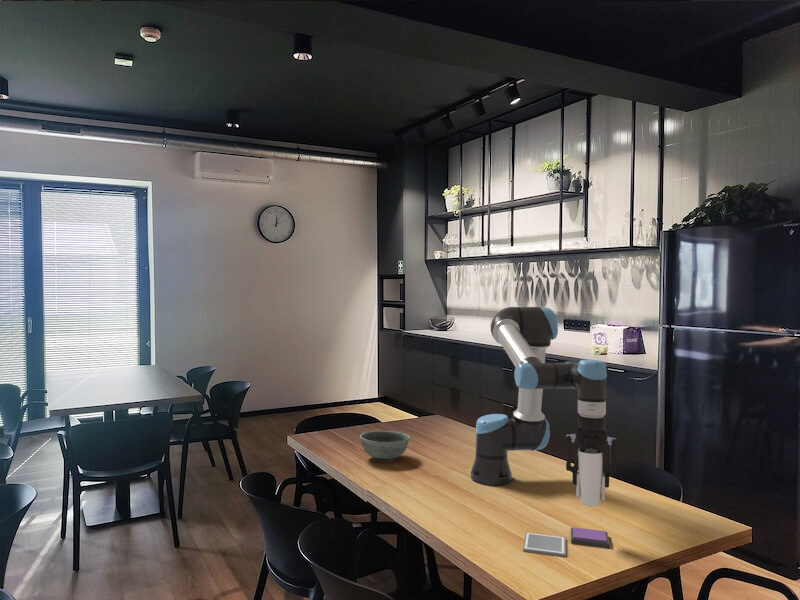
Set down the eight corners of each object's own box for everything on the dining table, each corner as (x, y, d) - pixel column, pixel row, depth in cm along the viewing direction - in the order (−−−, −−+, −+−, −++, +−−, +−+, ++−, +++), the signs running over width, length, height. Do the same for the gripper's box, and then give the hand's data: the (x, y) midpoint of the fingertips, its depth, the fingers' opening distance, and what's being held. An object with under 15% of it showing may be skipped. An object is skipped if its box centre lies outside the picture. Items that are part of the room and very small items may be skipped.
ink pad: (571, 543, 159) (571, 537, 159) (570, 531, 166) (570, 526, 166) (609, 548, 156) (609, 542, 156) (607, 536, 164) (607, 530, 164)
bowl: (350, 463, 230) (350, 438, 230) (372, 449, 249) (372, 427, 249) (398, 469, 222) (398, 444, 222) (417, 455, 241) (417, 432, 241)
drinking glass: (573, 499, 164) (573, 447, 164) (596, 499, 165) (596, 447, 164) (583, 508, 157) (583, 454, 157) (606, 507, 158) (607, 453, 158)
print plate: (522, 551, 154) (523, 548, 154) (525, 534, 164) (525, 532, 164) (565, 556, 151) (565, 554, 151) (565, 539, 161) (565, 537, 161)
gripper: (556, 415, 160) (555, 498, 160) (629, 420, 154) (627, 505, 155) (556, 410, 167) (555, 489, 167) (626, 414, 162) (624, 496, 162)
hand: (590, 497), depth 161 cm, fingers closed on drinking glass, 6 cm apart
